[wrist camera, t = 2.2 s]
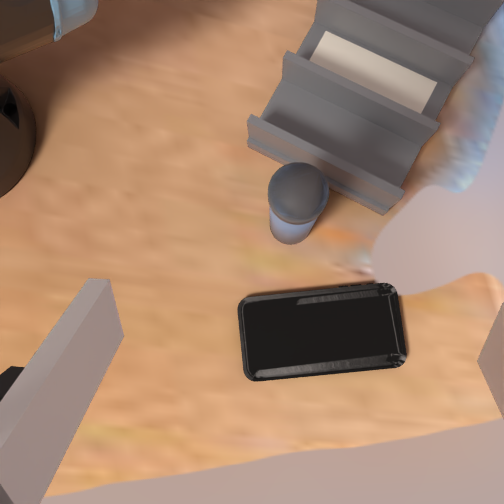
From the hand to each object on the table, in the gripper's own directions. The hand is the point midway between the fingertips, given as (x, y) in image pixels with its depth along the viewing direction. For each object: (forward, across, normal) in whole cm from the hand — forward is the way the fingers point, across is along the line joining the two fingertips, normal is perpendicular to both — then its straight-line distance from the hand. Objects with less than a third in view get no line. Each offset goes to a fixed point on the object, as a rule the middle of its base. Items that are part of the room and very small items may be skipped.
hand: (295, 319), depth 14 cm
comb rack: (+34, +6, +1) cm, 34 cm away
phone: (+18, +3, -18) cm, 26 cm away
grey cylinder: (+24, 0, -10) cm, 26 cm away
